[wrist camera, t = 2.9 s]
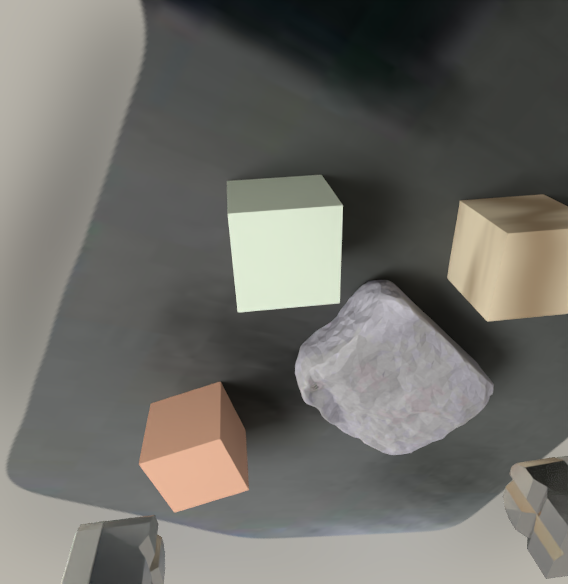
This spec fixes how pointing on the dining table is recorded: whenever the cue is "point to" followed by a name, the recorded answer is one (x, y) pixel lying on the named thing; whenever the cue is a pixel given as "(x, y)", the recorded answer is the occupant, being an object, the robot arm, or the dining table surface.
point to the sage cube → (285, 242)
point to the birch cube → (512, 256)
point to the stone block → (390, 373)
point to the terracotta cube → (195, 448)
